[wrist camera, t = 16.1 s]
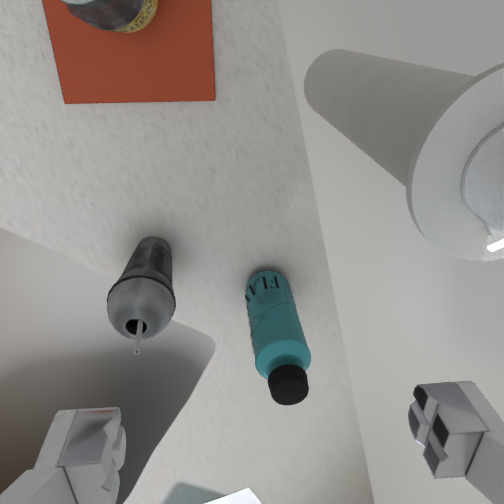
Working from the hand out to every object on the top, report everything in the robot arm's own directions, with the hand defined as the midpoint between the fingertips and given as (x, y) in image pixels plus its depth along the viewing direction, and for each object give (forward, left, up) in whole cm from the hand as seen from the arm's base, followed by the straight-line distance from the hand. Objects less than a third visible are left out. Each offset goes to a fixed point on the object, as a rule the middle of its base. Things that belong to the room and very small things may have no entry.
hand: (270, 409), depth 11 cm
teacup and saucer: (+3, +85, -41) cm, 95 cm away
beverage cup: (+10, +17, -41) cm, 46 cm away
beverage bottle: (-5, +23, -41) cm, 47 cm away
